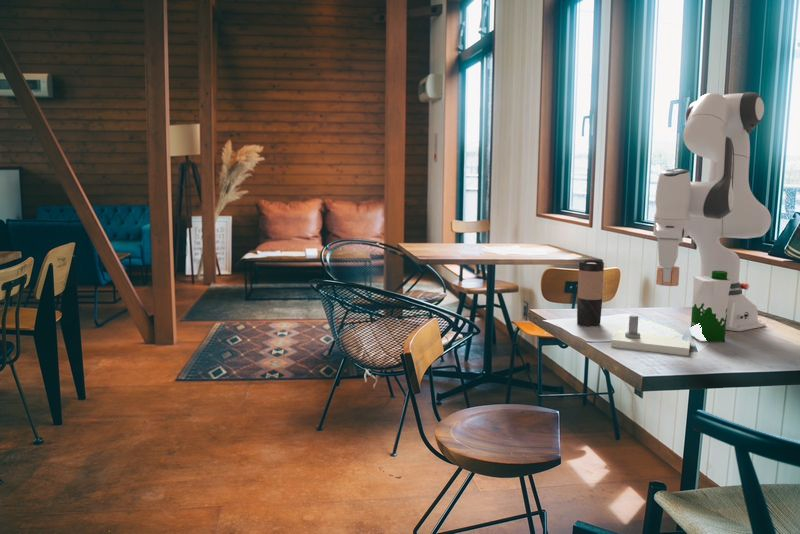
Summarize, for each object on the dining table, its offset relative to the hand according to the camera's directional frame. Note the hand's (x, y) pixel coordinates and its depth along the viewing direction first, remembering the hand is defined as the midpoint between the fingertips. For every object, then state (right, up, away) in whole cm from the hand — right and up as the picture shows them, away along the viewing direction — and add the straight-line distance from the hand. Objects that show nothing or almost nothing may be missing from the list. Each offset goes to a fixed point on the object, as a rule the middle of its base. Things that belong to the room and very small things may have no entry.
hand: (667, 279), depth 186 cm
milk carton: (+17, -18, +12) cm, 27 cm away
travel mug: (-13, -15, +30) cm, 36 cm away
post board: (-3, -19, +4) cm, 19 cm away
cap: (0, -1, 0) cm, 1 cm away
